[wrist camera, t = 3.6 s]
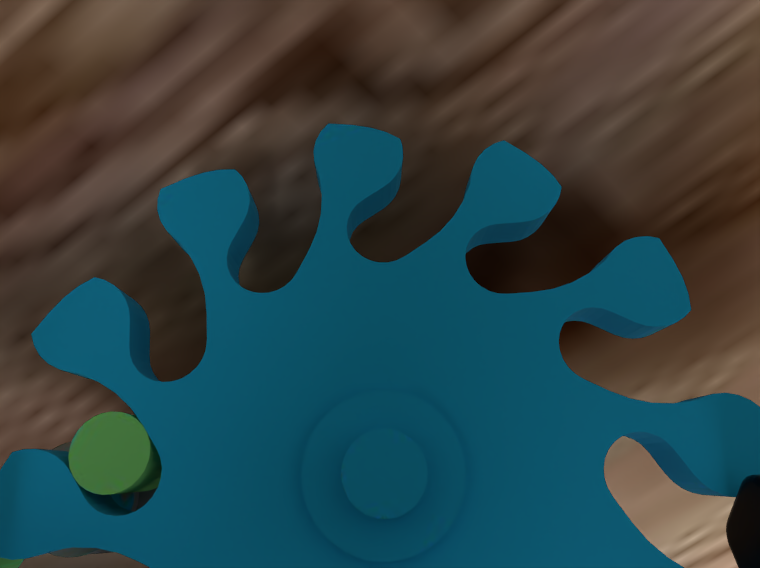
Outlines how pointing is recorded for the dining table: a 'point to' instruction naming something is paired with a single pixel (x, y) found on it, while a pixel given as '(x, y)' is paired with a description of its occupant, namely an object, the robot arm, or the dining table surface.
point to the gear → (366, 397)
